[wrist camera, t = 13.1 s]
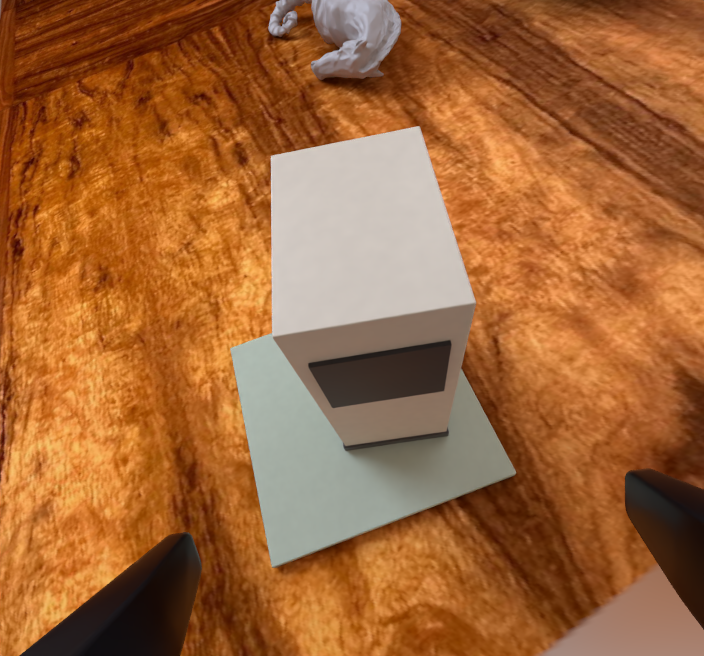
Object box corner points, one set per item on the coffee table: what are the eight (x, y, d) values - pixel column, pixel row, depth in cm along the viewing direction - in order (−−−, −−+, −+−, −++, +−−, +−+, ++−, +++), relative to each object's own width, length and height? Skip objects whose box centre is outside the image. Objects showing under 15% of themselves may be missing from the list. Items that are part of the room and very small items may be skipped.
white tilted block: (420, 313, 23) (422, 123, 13) (448, 437, 20) (483, 307, 9) (333, 328, 24) (267, 153, 13) (345, 452, 20) (267, 343, 10)
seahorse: (226, 38, 43) (352, 59, 31) (287, -52, 42) (436, -64, 31) (258, 78, 47) (378, 109, 36) (314, -4, 47) (453, 1, 35)
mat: (514, 475, 19) (517, 473, 18) (275, 567, 18) (271, 568, 18) (415, 285, 25) (414, 280, 24) (233, 351, 24) (229, 348, 24)
